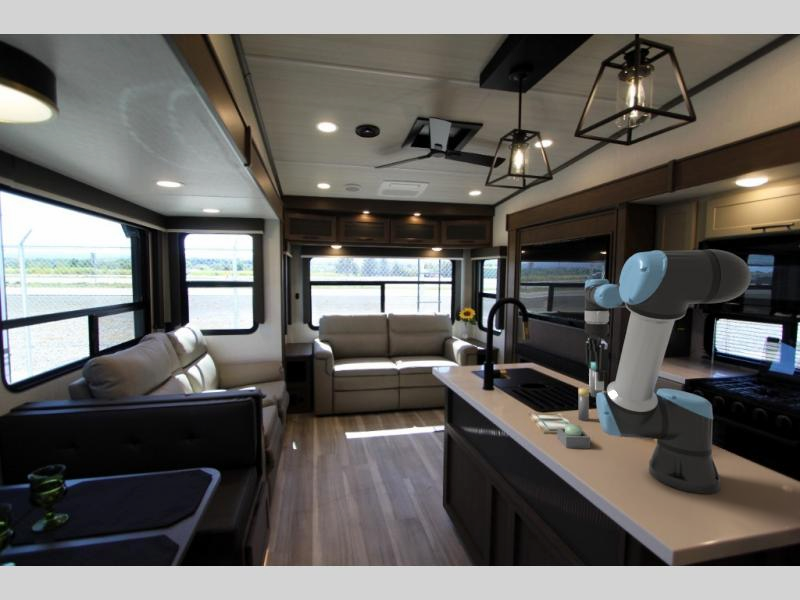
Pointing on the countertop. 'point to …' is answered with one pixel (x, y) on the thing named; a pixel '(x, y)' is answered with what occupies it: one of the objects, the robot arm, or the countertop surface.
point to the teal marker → (593, 380)
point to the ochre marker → (583, 404)
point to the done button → (573, 430)
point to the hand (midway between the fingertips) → (596, 388)
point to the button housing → (573, 439)
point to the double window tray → (549, 422)
